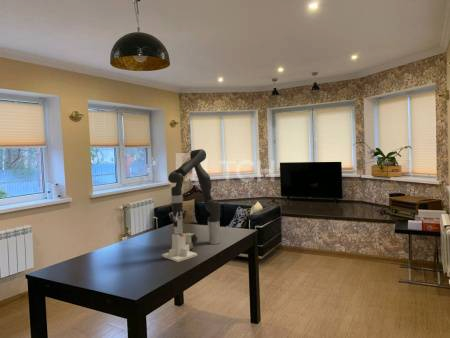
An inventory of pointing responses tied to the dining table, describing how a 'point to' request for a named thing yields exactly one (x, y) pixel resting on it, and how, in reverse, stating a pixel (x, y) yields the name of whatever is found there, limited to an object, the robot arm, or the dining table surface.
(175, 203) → the robot arm
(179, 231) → the column
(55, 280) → the dining table surface
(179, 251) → the stand base
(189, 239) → the pneumatic valve
